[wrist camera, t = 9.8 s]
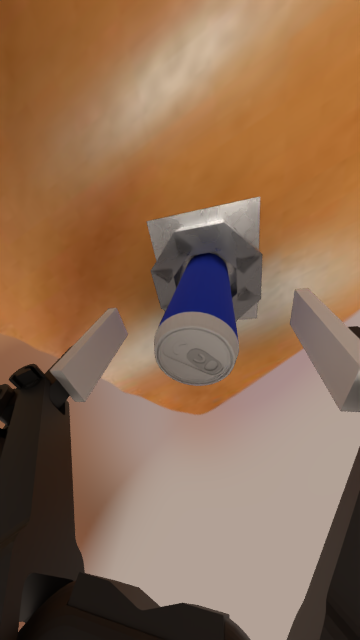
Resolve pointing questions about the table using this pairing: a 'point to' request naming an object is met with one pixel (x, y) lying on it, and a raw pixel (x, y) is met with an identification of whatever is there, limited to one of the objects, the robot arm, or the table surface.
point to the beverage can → (199, 325)
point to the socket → (211, 250)
